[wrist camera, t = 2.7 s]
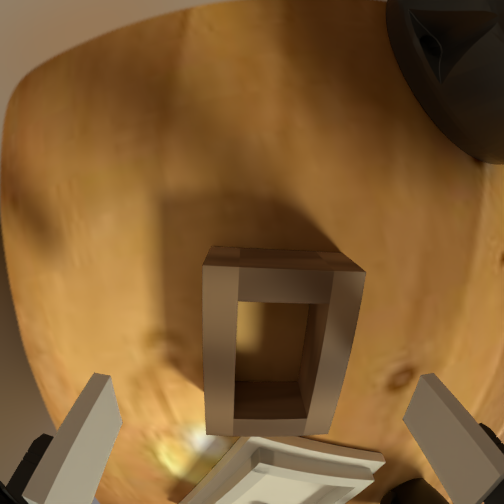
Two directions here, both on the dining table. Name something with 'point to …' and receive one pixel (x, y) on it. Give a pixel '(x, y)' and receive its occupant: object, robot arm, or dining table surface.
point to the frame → (315, 345)
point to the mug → (414, 494)
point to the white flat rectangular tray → (286, 473)
